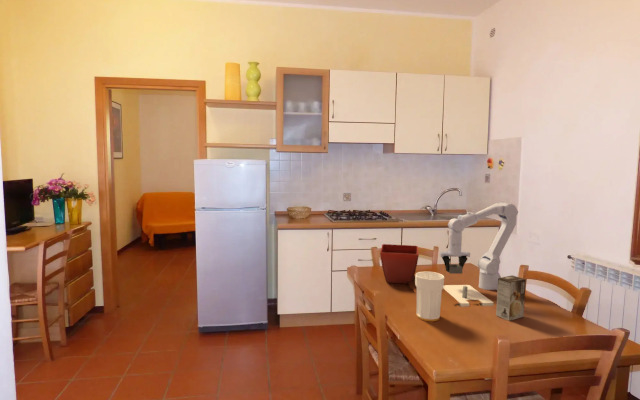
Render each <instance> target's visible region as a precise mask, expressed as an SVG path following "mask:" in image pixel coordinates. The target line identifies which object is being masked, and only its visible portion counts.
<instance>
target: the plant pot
mask: <svg viewBox="0 0 640 400" xmlns="http://www.w3.org/2000/svg"><path fill="white" fill-rule="evenodd" d="M419 252H420V251H419V246H418V245H410V244H409V245H408V244H407V245H406V244H405V245H404V244H390V243H389V244H388V243H382V244H381V249H380V251H379V254H380V261H381V267H382V271H383V275H384V280H385V282H386V283H392V284H393V283H394V284H405V285H406V284H407V285H409V283H411V282H413V280H414V278H415V275H416V270H417V267H418V262H419V255H420V253H419Z"/></svg>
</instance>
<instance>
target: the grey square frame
mask: <svg viewBox="0 0 640 400" xmlns="http://www.w3.org/2000/svg"><path fill="white" fill-rule="evenodd" d="M462 268H463V269H464V266H463V267H461V266H460V265H459V263H455V264H454V263H450V264H449V272H448V273H449V274H454V275H455V274H459V275H460V274H461V275H462V274H463V269H462Z"/></svg>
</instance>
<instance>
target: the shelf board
mask: <svg viewBox="0 0 640 400" xmlns="http://www.w3.org/2000/svg"><path fill="white" fill-rule="evenodd" d="M442 290H445V291H446V292H447V293H448V294H449V296H451V297H452V298H454V299H455V300H456V301H457V302H458V303H457V305H458V306H459V307H460V308H462V307H463V308H465V307H468V308H469V307H470V302H469V301H479V303H478V304H479V305H480V306H481V307H494V306H495V305H494V301H492V300H491V299H489V298H488V297H486V296H485V295H484V294H482V293H481V292H480V291H478V290H477V289H475V288H474V287H473V286H472V285H470V284H448V285H447V284H445V285H444V287H443V289H442Z"/></svg>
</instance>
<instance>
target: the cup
mask: <svg viewBox="0 0 640 400" xmlns="http://www.w3.org/2000/svg"><path fill="white" fill-rule="evenodd" d="M414 278H415V279H414V285H415V287H416V310H415V311H416V312H415V313H416V317H417V319H420V320H422V321H424V322H437V321H440V318H441V317H440V316H441V305H442V294H443V290H444V289H443V287H444V284H445V276H444V275H443V274H441V273H439V272H435V271H429V270H428V271H427V270H426V271H417V272H415V275H414Z"/></svg>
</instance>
